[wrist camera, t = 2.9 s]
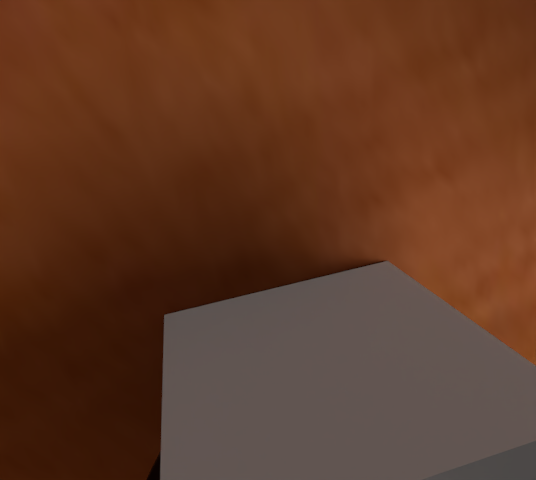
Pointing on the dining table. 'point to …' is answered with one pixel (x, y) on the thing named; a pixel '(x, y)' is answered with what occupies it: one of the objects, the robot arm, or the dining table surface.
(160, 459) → the robot arm
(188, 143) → the dining table surface
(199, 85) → the dining table surface
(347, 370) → the grey cube
